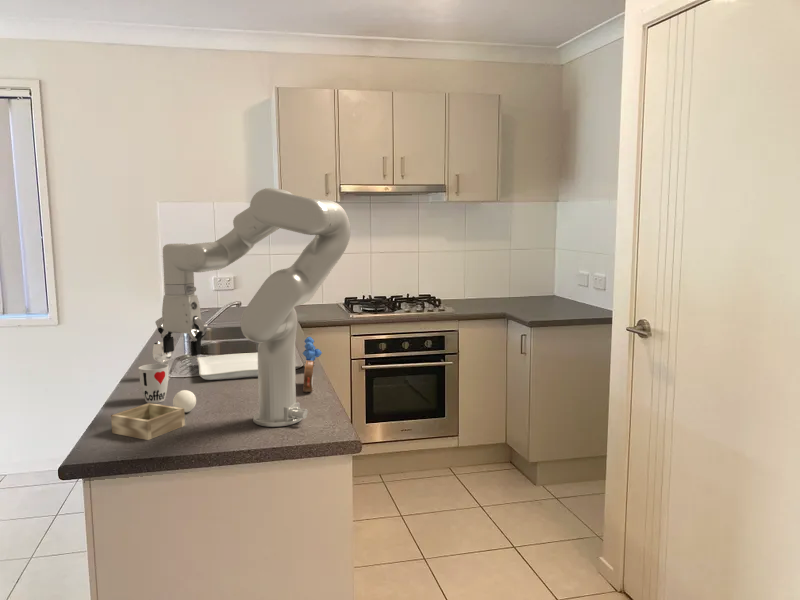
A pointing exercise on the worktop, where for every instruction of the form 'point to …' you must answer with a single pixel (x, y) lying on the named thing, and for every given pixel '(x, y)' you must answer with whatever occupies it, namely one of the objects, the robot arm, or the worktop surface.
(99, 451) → the worktop surface
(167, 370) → the cup
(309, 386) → the tin
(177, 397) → the ball
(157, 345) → the wineglass
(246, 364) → the square plate
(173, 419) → the wooden square tray
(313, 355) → the grapes
